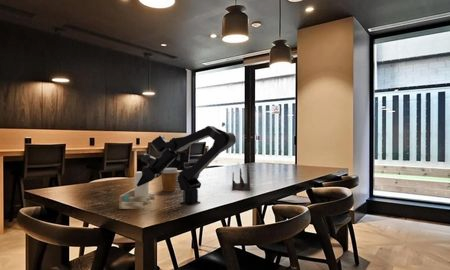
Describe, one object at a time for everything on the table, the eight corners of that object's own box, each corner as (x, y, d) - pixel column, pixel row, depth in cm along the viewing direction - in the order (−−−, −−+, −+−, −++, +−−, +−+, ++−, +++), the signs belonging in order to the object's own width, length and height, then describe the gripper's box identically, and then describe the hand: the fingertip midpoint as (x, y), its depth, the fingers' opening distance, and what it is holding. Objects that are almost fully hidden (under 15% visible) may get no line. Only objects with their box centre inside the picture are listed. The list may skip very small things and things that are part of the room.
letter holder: (248, 185, 181) (248, 162, 182) (250, 191, 161) (250, 165, 162) (232, 185, 182) (232, 162, 182) (232, 190, 162) (232, 165, 162)
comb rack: (155, 198, 139) (155, 187, 139) (142, 208, 118) (142, 196, 118) (135, 198, 139) (135, 187, 139) (119, 208, 118) (119, 196, 118)
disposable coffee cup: (158, 191, 157) (158, 169, 157) (162, 188, 166) (162, 167, 166) (175, 192, 156) (175, 169, 157) (179, 189, 166) (179, 167, 166)
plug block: (148, 199, 137) (148, 171, 137) (145, 201, 132) (145, 172, 132) (137, 199, 137) (137, 171, 137) (134, 201, 132) (134, 172, 132)
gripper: (157, 147, 144) (134, 169, 144) (146, 148, 125) (120, 174, 125) (172, 163, 144) (150, 185, 144) (165, 167, 125) (138, 192, 125)
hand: (140, 184), depth 135 cm, fingers open, 9 cm apart
